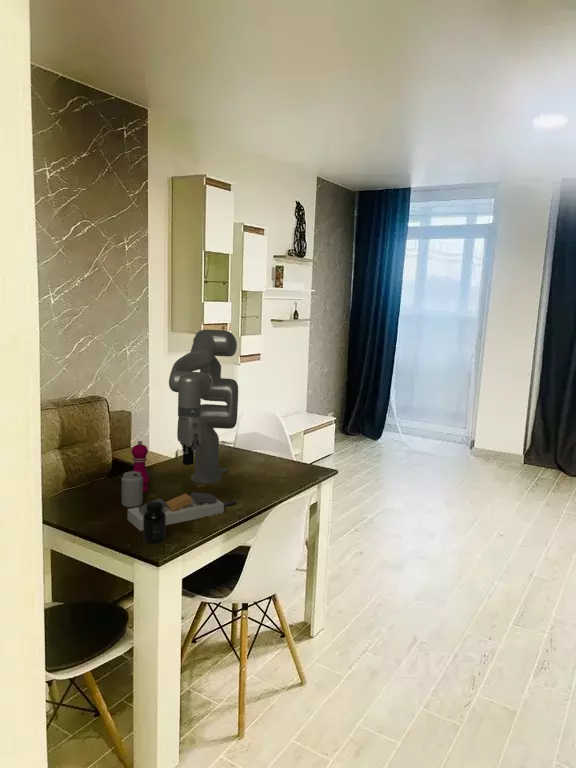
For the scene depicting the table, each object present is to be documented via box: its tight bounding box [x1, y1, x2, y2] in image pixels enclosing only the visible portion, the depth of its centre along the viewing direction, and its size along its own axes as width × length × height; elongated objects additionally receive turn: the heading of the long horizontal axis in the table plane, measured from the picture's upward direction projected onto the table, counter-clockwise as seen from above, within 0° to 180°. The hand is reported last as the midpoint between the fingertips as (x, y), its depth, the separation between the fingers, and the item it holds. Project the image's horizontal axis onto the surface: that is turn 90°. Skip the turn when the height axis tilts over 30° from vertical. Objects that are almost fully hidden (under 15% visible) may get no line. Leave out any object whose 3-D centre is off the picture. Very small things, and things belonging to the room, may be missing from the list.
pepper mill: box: [131, 440, 150, 494], centre depth 230 cm, size 7×7×20 cm
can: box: [120, 470, 144, 509], centre depth 216 cm, size 8×8×12 cm
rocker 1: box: [138, 497, 167, 515], centre depth 200 cm, size 8×5×2 cm, turn 126°
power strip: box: [126, 499, 237, 532], centre depth 210 cm, size 39×11×5 cm, turn 126°
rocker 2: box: [165, 493, 193, 511], centre depth 206 cm, size 8×5×2 cm, turn 126°
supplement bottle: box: [142, 501, 167, 545], centre depth 187 cm, size 7×7×12 cm
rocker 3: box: [189, 492, 218, 503], centre depth 211 cm, size 8×5×2 cm, turn 126°
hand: (188, 464), depth 205 cm, fingers closed
